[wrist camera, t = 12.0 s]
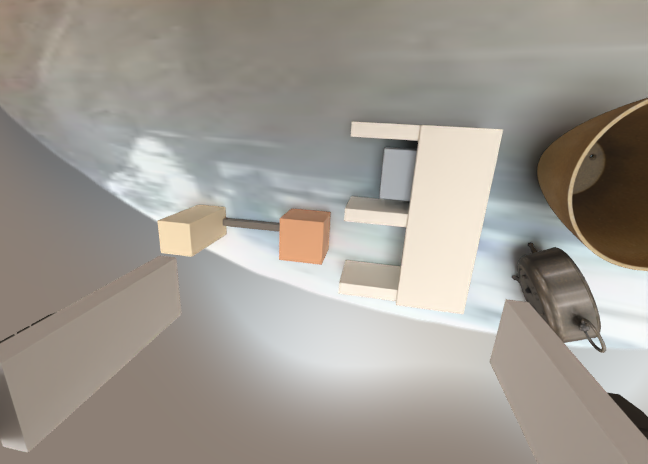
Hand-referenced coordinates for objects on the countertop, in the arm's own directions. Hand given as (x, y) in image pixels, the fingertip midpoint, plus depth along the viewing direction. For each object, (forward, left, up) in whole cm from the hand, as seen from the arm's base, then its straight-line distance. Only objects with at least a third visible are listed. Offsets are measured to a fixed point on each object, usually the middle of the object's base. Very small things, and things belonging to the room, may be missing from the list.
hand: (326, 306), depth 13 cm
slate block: (-2, +5, -35) cm, 35 cm away
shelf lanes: (+3, +5, -35) cm, 35 cm away
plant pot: (-4, +25, -35) cm, 43 cm away
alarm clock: (+11, +24, -35) cm, 44 cm away
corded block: (+8, -15, -35) cm, 39 cm away
